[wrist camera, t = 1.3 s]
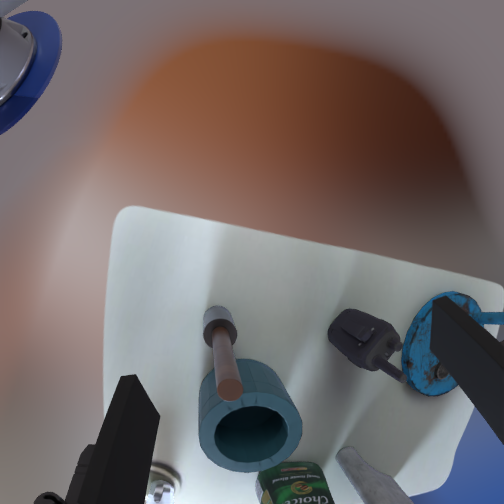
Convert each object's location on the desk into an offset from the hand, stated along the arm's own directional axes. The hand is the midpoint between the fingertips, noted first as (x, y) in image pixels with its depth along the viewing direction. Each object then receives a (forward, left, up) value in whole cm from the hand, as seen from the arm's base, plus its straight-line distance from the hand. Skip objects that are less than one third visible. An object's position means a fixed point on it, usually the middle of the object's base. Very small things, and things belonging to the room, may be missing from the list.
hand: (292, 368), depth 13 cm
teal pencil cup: (+4, -13, -24) cm, 27 cm away
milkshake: (-3, -31, -24) cm, 39 cm away
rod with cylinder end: (-1, -4, -24) cm, 24 cm away
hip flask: (+27, -25, -24) cm, 44 cm away
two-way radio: (+13, -2, -24) cm, 28 cm away
